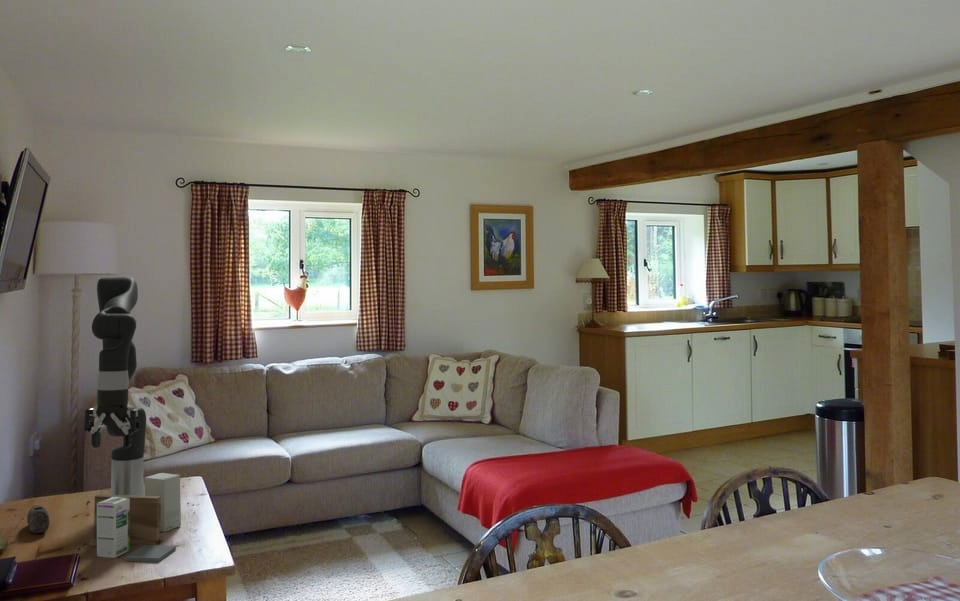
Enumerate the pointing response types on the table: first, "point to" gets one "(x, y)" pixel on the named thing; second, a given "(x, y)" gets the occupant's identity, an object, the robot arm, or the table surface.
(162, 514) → the skincare box
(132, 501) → the brown wooden standing panel
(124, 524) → the syrup box
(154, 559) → the mat
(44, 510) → the perforated stone tool
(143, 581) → the table surface
